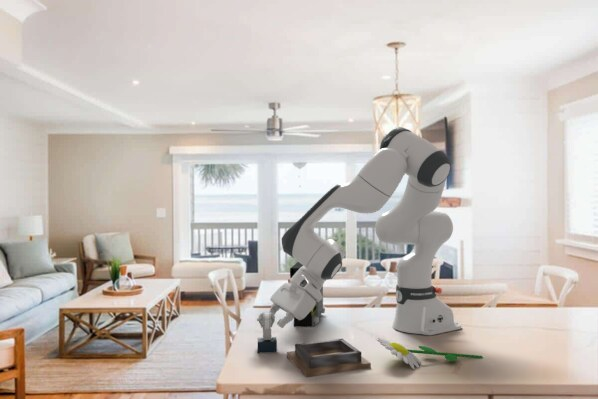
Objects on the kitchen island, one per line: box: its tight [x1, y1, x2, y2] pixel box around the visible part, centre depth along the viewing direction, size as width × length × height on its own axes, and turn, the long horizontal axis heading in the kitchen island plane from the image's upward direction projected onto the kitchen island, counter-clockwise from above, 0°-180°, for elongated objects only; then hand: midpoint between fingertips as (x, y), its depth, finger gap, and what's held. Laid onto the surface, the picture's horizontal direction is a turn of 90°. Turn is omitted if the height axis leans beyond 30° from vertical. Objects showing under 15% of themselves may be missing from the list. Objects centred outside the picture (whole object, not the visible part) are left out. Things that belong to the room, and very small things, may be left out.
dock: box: [286, 338, 372, 378], centre depth 132 cm, size 18×16×4 cm
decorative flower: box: [376, 337, 484, 370], centre depth 132 cm, size 13×5×30 cm
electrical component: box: [287, 261, 326, 328], centre depth 174 cm, size 18×10×20 cm, turn 168°
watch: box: [256, 311, 278, 354], centre depth 142 cm, size 6×8×11 cm
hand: (273, 322), depth 142 cm, fingers open, 8 cm apart
